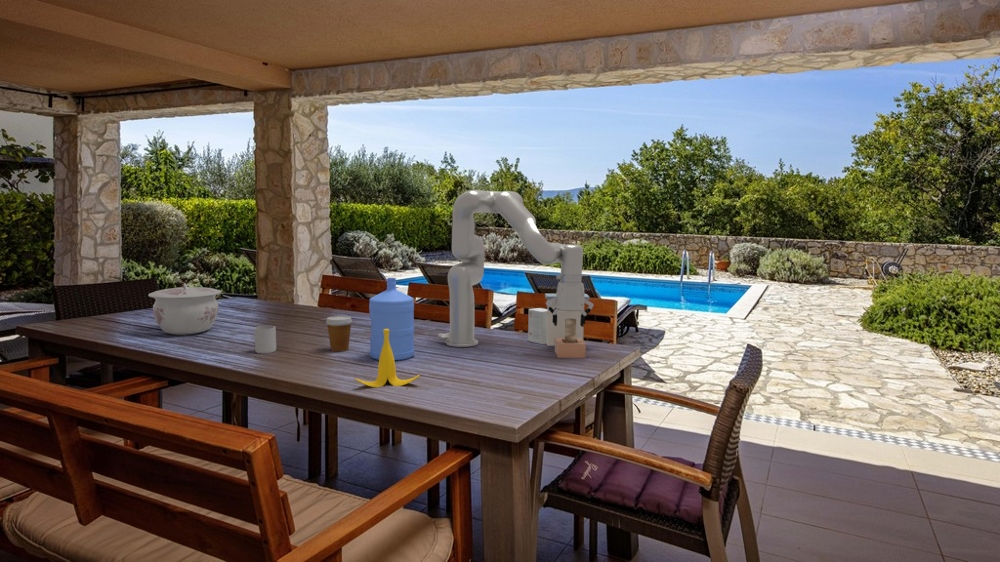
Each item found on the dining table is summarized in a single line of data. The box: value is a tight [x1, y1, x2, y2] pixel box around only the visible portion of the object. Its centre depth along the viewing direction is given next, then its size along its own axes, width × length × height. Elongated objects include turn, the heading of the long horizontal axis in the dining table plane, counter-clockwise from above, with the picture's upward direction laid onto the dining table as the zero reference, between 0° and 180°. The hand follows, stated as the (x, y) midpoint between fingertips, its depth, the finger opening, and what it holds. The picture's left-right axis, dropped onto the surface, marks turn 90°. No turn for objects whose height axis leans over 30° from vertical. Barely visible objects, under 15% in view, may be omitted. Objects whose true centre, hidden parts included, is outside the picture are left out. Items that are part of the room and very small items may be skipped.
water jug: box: [368, 277, 415, 362], centre depth 225 cm, size 16×16×28 cm
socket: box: [554, 338, 587, 359], centre depth 231 cm, size 10×10×5 cm
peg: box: [565, 318, 576, 343], centre depth 231 cm, size 4×4×12 cm
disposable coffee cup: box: [325, 315, 353, 352], centre depth 235 cm, size 10×10×12 cm
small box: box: [527, 307, 547, 345], centre depth 253 cm, size 8×6×13 cm
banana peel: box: [354, 329, 421, 388], centre depth 191 cm, size 16×19×17 cm
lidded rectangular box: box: [544, 293, 591, 347], centre depth 242 cm, size 16×8×20 cm, turn 91°
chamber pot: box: [148, 282, 222, 336], centre depth 266 cm, size 28×28×21 cm
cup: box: [254, 325, 277, 355], centre depth 233 cm, size 7×10×9 cm
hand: (568, 325), depth 231 cm, fingers open, 9 cm apart
